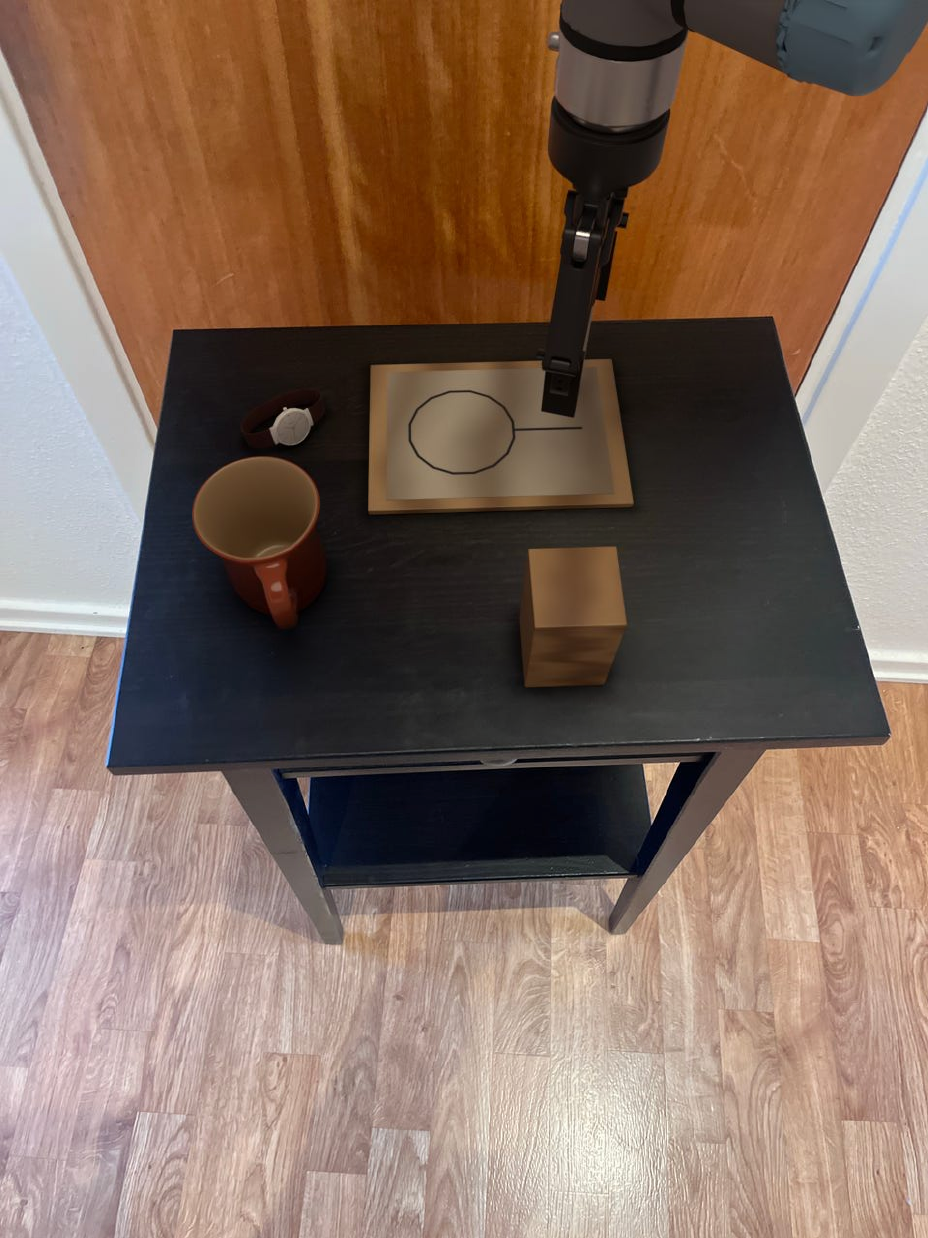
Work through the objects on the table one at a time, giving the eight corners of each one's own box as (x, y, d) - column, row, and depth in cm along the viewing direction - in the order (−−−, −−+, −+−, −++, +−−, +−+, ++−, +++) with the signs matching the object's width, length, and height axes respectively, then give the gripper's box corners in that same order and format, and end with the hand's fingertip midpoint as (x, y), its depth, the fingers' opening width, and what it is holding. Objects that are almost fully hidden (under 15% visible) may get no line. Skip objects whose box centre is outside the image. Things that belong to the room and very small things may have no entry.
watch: (260, 465, 74) (251, 438, 70) (234, 430, 75) (224, 402, 72) (337, 425, 76) (332, 396, 72) (310, 391, 77) (303, 362, 74)
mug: (219, 548, 70) (183, 471, 61) (325, 523, 71) (305, 443, 62) (244, 679, 64) (209, 616, 55) (358, 649, 66) (342, 583, 56)
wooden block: (595, 614, 67) (616, 545, 58) (604, 685, 64) (627, 624, 55) (519, 616, 67) (528, 548, 58) (524, 687, 64) (534, 627, 55)
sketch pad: (610, 363, 79) (611, 357, 78) (632, 507, 72) (634, 502, 71) (371, 369, 79) (370, 363, 78) (368, 514, 71) (367, 510, 71)
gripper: (590, -15, 60) (561, 245, 79) (506, 217, 49) (496, 455, 67) (698, 0, 59) (643, 259, 78) (638, 240, 48) (590, 475, 66)
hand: (575, 351), depth 72 cm, fingers open, 13 cm apart
